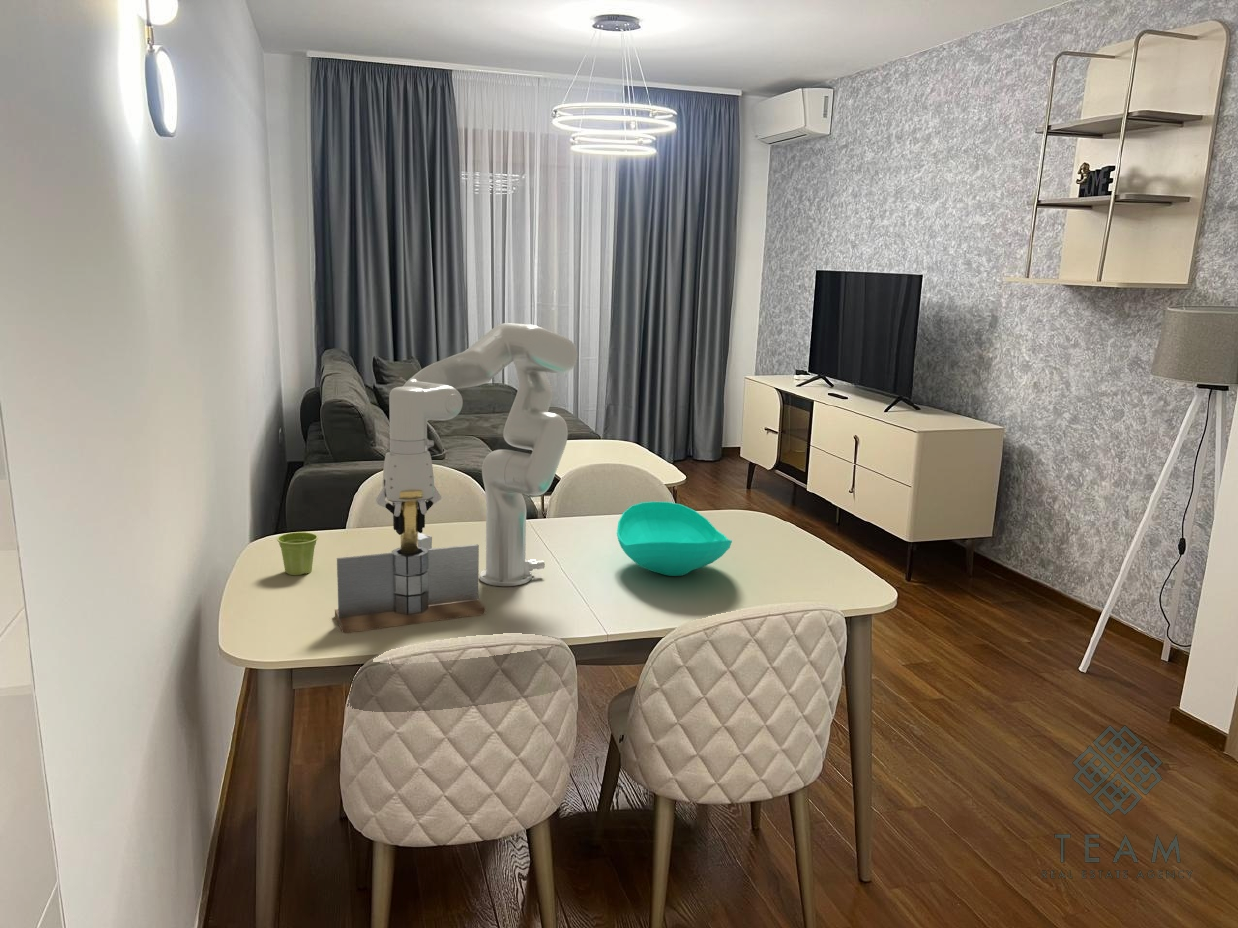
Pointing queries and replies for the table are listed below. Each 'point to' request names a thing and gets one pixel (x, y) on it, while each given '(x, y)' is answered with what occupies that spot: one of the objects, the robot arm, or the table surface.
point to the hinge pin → (410, 521)
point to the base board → (411, 616)
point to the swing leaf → (445, 576)
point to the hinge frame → (379, 583)
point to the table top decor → (669, 538)
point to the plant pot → (297, 552)
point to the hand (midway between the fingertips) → (409, 531)
